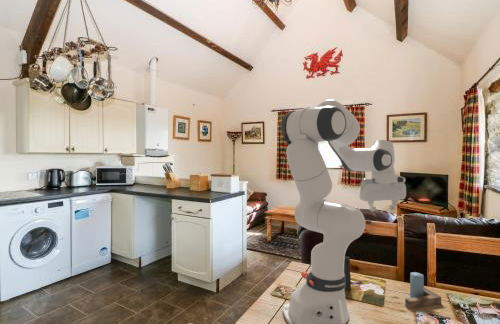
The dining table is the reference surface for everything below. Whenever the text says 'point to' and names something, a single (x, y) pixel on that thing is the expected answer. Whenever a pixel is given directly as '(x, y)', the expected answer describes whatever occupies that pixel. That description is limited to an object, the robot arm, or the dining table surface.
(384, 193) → the robot arm
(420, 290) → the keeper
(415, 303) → the stop rail
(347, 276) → the door stopper
